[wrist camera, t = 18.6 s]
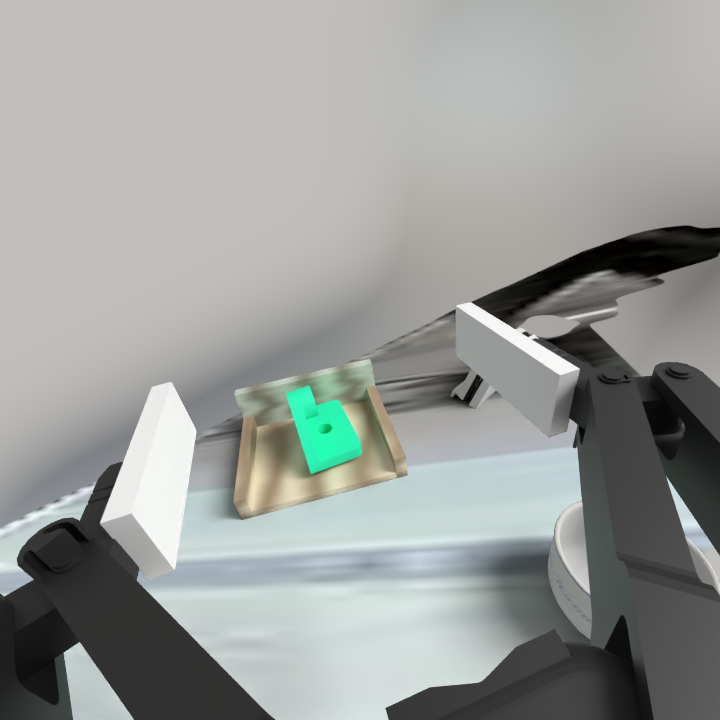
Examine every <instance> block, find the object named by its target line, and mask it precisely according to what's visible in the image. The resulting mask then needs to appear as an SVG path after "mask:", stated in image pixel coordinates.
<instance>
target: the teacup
mask: <svg viewBox="0 0 720 720" xmlns="http://www.w3.org/2000/svg"><path fill="white" fill-rule="evenodd" d="M685 538H686V537H685ZM686 541H687V544H688V547H689V550H690V553H691V556H692V559H693V562H694V566H695V569H696V572H697V574H698V577H699V579H700V580H701V581H702V582H703V583H705V584H709V585H712V586H713V587H714V588H715V589H716V590H717V591H718V593H719V595H720V584H719V581H718V579H717V576H716V573H715V571H714V570H713V568H712V567H711V565H710V563H709V562H708V561H707V559H706V558H705V557H704V555H703V554H702V553H701V551H700V550H699V549H698V548H697V547H696V546H695V545H694V544H693V543H692V542H691V541H690V540H689V539H688V538H686ZM548 575H549V581H550V585H551V589H552V592H553V594H554V596H555V599H556V601H557V603H558V604H559V606H560V608H561V609H562V611H563V612H564V614H565V615H566V616H567V618H568V619H569V620H570V621H571V623H572V624H573V625H574V626H575V627H576V628H577V629H578V630H579V631H580V632H581V633H582V634H583V635H585V636H586V637H587V638H588V639H589V640H590V637H591V628H592V609H591V598H590V586H589V575H588V563H587V552H586V540H585V529H584V517H583V506H582V501H580V502H577V503H574V504H572V505H570V506H569V507H567V508H566V509H565V510H564V511H563V512H562V514H561V515H560V516H559V518H558V520H557V522H556V525H555V529H554V537H553V541H552V544H551V549H550V553H549V559H548Z"/></svg>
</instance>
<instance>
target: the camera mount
mask: <svg viewBox="0 0 720 720" xmlns="http://www.w3.org/2000/svg"><path fill="white" fill-rule="evenodd" d="M286 395H287V399H288V402H289V405H290V408H291V412H292V415H293V418H294V421H295V424H296V428H297V431H298V434H299V437H300V441H301V444H302V447H303V450H304V453H305V457H306V460H307V463H308V466H309V470H310V473H311V474H313V473H316V472H319V471H321V470H324V469H327V468H329V467H332V466H335V465H337V464H340V463H343V462H345V461H348V460H351V459H353V458H356V457H358V456H360V455H361V454H362V447H361V442H360V440H359V438H358V436H357V434H356V432H355V430H354V428H353V426H352V425H351V423H350V421H349V419H348V417H347V415H346V413H345V411H344V409H343V407H342V405H341V403H340V402H339V401H338V400H332V401H329V402H326V403H323V404H320V405H317V406H316V404H315V400H314V397H313V394H312V391H311V389H310V387H309V386H305V387H302V388H299V389H296V390H293V391H290V392H286Z"/></svg>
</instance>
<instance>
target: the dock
mask: <svg viewBox="0 0 720 720" xmlns="http://www.w3.org/2000/svg"><path fill="white" fill-rule="evenodd" d="M305 386H309V387H310V389H311V391H312V394H313V397H314V400H315V404H316V406H317V405H320V404H323V403H326V402H329V401H332V400H338V401H339V402H340V403H341V405H342V407H343V409H344V411H345V413H346V415H347V417H348V419H349V421H350V423H351V425H352V426H353V428H354V430H355V432H356V434H357V436H358V438H359V440H360V442H361V447H362V454H361V455H360V456H358V457H356V458H353V459H351V460H348V461H345V462H343V463H340V464H337V465H335V466H332V467H329V468H327V469H324V470H321V471H319V472H316V473H313V474H311V473H310V470H309V466H308V463H307V460H306V457H305V453H304V450H303V447H302V444H301V441H300V437H299V434H298V431H297V428H296V424H295V421H294V418H293V415H292V412H291V408H290V405H289V402H288V399H287V395H286V392H290V391H293V390H296V389H299V388H302V387H305ZM235 398H236V400H237V403H238V405H239V408H240V410H241V413H242V415H243V426H242V435H241V443H240V451H239V460H238V468H237V476H236V484H235V493H234V501H233V502H234V504H235V506H236V508H237V510H238V512H239V514H240V516H241V518H242V519H246V518H250V517H254V516H257V515H261V514H265V513H268V512H272V511H276V510H280V509H283V508H287V507H291V506H294V505H298V504H302V503H306V502H309V501H313V500H317V499H320V498H324V497H328V496H332V495H335V494H339V493H343V492H346V491H350V490H354V489H358V488H361V487H365V486H369V485H372V484H376V483H380V482H384V481H387V480H391V479H395V478H398V477H402V476H406V475H408V474H407V465H406V456H405V454H404V452H403V449H402V447H401V445H400V442H399V440H398V438H397V435H396V433H395V431H394V429H393V426H392V424H391V422H390V419H389V417H388V415H387V412H386V410H385V408H384V405H383V403H382V401H381V398H380V396H379V394H378V392H377V389H376V387H375V382H374V375H373V369H372V363H371V361H370V359H367V360H363V361H359V362H355V363H350V364H346V365H342V366H338V367H333V368H329V369H325V370H320V371H316V372H311V373H307V374H303V375H299V376H295V377H290V378H286V379H281V380H277V381H273V382H269V383H264V384H260V385H256V386H252V387H247V388H243V389H238V390H235Z"/></svg>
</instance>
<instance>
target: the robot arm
mask: <svg viewBox="0 0 720 720" xmlns="http://www.w3.org/2000/svg"><path fill="white" fill-rule="evenodd" d="M456 355H457V356H458V357H459V358H460V359H461V360H462V361H463V362H465V363H466V364H467V365H468V366H469V367H470V368H471V369H472V370H474V371H475V372H476V373H477V374H478V375H479V376H480V377H481V378H483V379H484V380H485V381H486V382H487V383H488V384H489V385H490V386H492V387H493V388H494V389H495V390H496V391H497V392H498V393H499V394H501V395H502V396H503V397H504V398H505V399H506V400H507V401H508V402H510V403H511V404H512V405H513V406H514V407H515V408H516V409H517V410H519V411H520V412H521V413H522V414H523V415H524V416H525V417H526V418H528V419H529V420H530V421H531V422H532V423H533V424H534V425H535V426H537V427H538V428H539V429H540V430H541V431H542V432H543V433H544V434H546V435H547V436H548V437H552V436H555V435H557V434H560V433H563V432H566V431H567V428H568V423H569V418H570V419H571V420H573V421H574V422H575V423H577V424H578V426H577V431H576V435H575V439H574V444H573V448H576V447H577V448H578V460H579V471H580V483H581V494H582V506H583V517H584V529H585V540H586V552H587V563H588V575H589V586H590V598H591V609H592V628H591V637H590V645H589V644H584V643H579V642H562V640H561V639H560V637H559V636H558V634H557V633H556V631H555V630H552V631H550V632H548V633H546V634H544V635H541V636H539V637H537V638H535V639H533V640H531V641H528V642H526V643H524V644H522V645H520V646H518V647H516V648H515V649H514V650H513V651H512V652H511V653H510V654H509V655H508V656H507V657H506V658H505V659H504V660H503V661H502V662H501V663H500V664H499V665H498V666H497V667H496V668H495V669H494V670H493V671H492V672H491V673H490V674H489V675H488V676H487V677H486V678H485V679H484V680H483V681H481V682H479V683H473V684H462V685H451V686H440V687H430V688H428V689H426V690H423V691H421V692H419V693H417V694H415V695H413V696H411V697H408V698H406V699H404V700H402V701H400V702H398V703H396V704H393V705H391V706H389V707H387V708H386V711H387V715H388V719H389V720H720V595H719V593H718V591H717V590H716V589H715V588H714V587H713V586H712V585H709V584H705V583H703V582H702V581H701V580H700V579H699V577H698V574H697V572H696V569H695V566H694V562H693V559H692V556H691V553H690V550H689V547H688V544H687V541H686V538H685V534H684V531H683V528H682V525H681V522H680V519H679V516H678V513H677V510H676V506H675V503H674V500H673V497H672V494H671V491H670V488H669V485H668V481H667V478H668V479H669V481H670V482H671V484H672V485H673V487H674V488H675V490H676V491H677V493H678V494H679V495H680V497H681V498H682V500H683V501H684V503H685V504H686V506H687V507H688V509H689V510H690V512H691V513H692V515H693V516H694V518H695V519H696V521H697V522H698V524H699V525H700V527H701V528H702V530H703V531H704V533H705V534H706V536H707V537H708V539H709V540H710V542H711V543H712V545H713V546H714V548H715V549H716V551H717V552H718V553H719V555H720V388H719V387H718V386H717V385H716V384H715V383H714V382H713V381H711V379H709V378H708V377H707V376H706V375H705V374H704V373H703V372H701V371H700V370H698V369H697V368H694V367H691V366H689V365H687V364H684V363H683V364H682V363H678V362H666V363H660V364H658V365H656V366H655V368H654V371H653V374H652V376H645V377H632V376H631V375H629V374H628V373H626V372H623V371H621V370H618V369H612V368H599V369H594V368H592V367H591V366H589V365H587V364H586V363H584V362H582V361H580V360H579V359H577V358H575V357H574V356H572V355H570V354H567V352H565V351H563V350H562V349H559V348H558V347H556V346H555V345H553V344H551V343H550V342H547V341H544V340H540V339H537V338H534V339H530V338H528V337H527V336H525V335H523V334H522V333H520V332H518V331H517V330H515V329H513V328H512V327H510V326H509V325H507V324H505V323H504V322H502V321H500V320H499V319H497V318H495V317H494V316H492V315H490V314H489V313H487V312H485V311H484V310H482V309H481V308H479V307H477V306H476V305H474V304H472V303H471V302H469V303H465V304H461V305H458V306H456ZM195 437H196V429H195V427H194V425H193V423H192V421H191V419H190V417H189V415H188V413H187V411H186V410H185V408H184V406H183V404H182V402H181V400H180V398H179V396H178V394H177V392H176V390H175V388H174V386H173V384H172V382H169V383H165V384H161V385H158V386H154V387H152V388H151V391H150V394H149V396H148V399H147V402H146V404H145V407H144V410H143V412H142V415H141V417H140V420H139V422H138V425H137V428H136V430H135V433H134V435H133V438H132V441H131V443H130V446H129V448H128V451H127V454H126V457H125V459H124V461H123V462H120V463H117V464H113V465H110V466H109V467H108V468H107V469H106V471H105V472H104V473H103V474H102V475H101V476H100V478H99V479H98V481H97V483H96V485H95V488H94V490H93V494H91V497H90V499H89V501H88V505H87V506H86V508H85V510H84V513H83V515H82V517H81V519H80V521H79V520H77V519H75V518H63V519H60V520H58V521H55V522H53V523H51V524H49V525H47V526H46V527H44V528H42V529H41V530H39V531H38V532H37V533H36V534H35V535H33V536H32V537H31V538H30V539H29V540H28V541H27V542H26V544H25V545H24V546H23V547H22V549H21V550H20V553H19V555H18V557H17V563H18V566H19V567H20V568H22V569H23V570H24V571H25V572H26V573H27V574H28V575H30V576H31V577H32V578H33V579H34V580H33V581H31V582H29V583H27V584H26V585H24V586H22V587H20V588H19V589H17V590H15V591H13V592H12V593H10V594H8V595H6V596H5V597H4V596H3V595H1V594H0V720H73V716H72V709H71V702H70V695H69V688H68V681H67V674H66V667H65V660H64V652H65V651H67V650H68V649H70V648H71V647H73V646H74V645H76V644H77V643H79V642H80V643H81V644H82V646H83V647H84V649H85V650H86V651H87V653H88V654H89V656H90V657H91V659H92V660H93V661H94V663H95V664H96V666H97V667H98V669H99V670H100V671H101V673H102V674H103V676H104V677H105V679H106V680H107V681H108V683H109V684H110V686H111V687H112V689H113V690H114V691H115V693H116V694H117V696H118V697H119V699H120V700H121V701H122V703H123V704H124V706H125V707H126V709H127V710H128V711H129V713H130V714H131V716H132V717H133V719H134V720H275V719H274V718H273V717H271V716H270V715H269V714H268V713H267V712H266V711H265V710H264V709H263V708H262V707H261V706H260V705H259V704H258V703H257V702H256V701H255V700H254V699H253V698H252V697H251V696H250V695H249V694H248V693H247V692H246V691H245V690H244V689H243V688H242V687H241V686H240V685H239V684H238V683H237V682H236V681H235V680H234V679H233V678H232V677H231V676H230V675H229V674H228V673H227V672H226V671H225V670H224V669H223V668H222V667H221V666H220V665H219V664H218V663H217V662H216V661H215V660H214V659H213V658H212V657H211V656H210V655H209V654H208V653H207V652H206V651H205V650H204V649H203V648H202V647H201V646H200V645H199V644H198V643H197V642H196V641H195V640H194V638H193V637H192V636H191V635H190V634H189V633H188V632H187V631H186V630H185V629H184V628H183V627H182V626H181V625H180V624H179V623H178V622H177V621H176V620H175V619H174V618H173V617H172V616H171V615H170V614H169V613H168V612H167V611H166V610H165V609H164V608H163V607H162V606H161V605H160V604H159V603H158V602H157V601H156V600H155V599H154V598H153V597H152V596H151V595H150V594H149V593H148V592H147V591H146V590H145V589H144V588H143V587H142V586H141V585H140V584H139V583H138V582H137V581H136V580H137V576H138V572H139V570H140V571H141V572H142V574H143V575H144V576H145V577H146V578H147V580H150V579H152V578H155V577H158V576H161V575H164V574H166V573H169V572H172V571H175V566H176V560H177V553H178V547H179V540H180V534H181V527H182V521H183V514H184V508H185V502H186V495H187V489H188V482H189V476H190V469H191V463H192V456H193V450H194V444H195ZM666 476H667V478H666Z"/></svg>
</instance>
